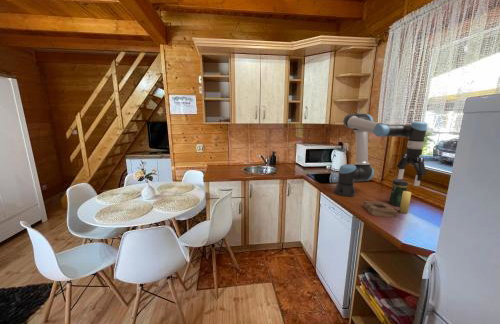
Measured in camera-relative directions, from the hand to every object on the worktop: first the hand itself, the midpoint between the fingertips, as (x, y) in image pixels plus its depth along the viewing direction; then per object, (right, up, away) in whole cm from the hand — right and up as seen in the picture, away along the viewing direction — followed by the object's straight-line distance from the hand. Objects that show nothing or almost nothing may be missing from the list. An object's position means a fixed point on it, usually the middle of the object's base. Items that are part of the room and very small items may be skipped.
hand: (407, 182), depth 128 cm
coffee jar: (+8, -18, +21) cm, 29 cm away
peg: (+3, -21, +8) cm, 22 cm away
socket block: (-13, -20, +8) cm, 25 cm away
